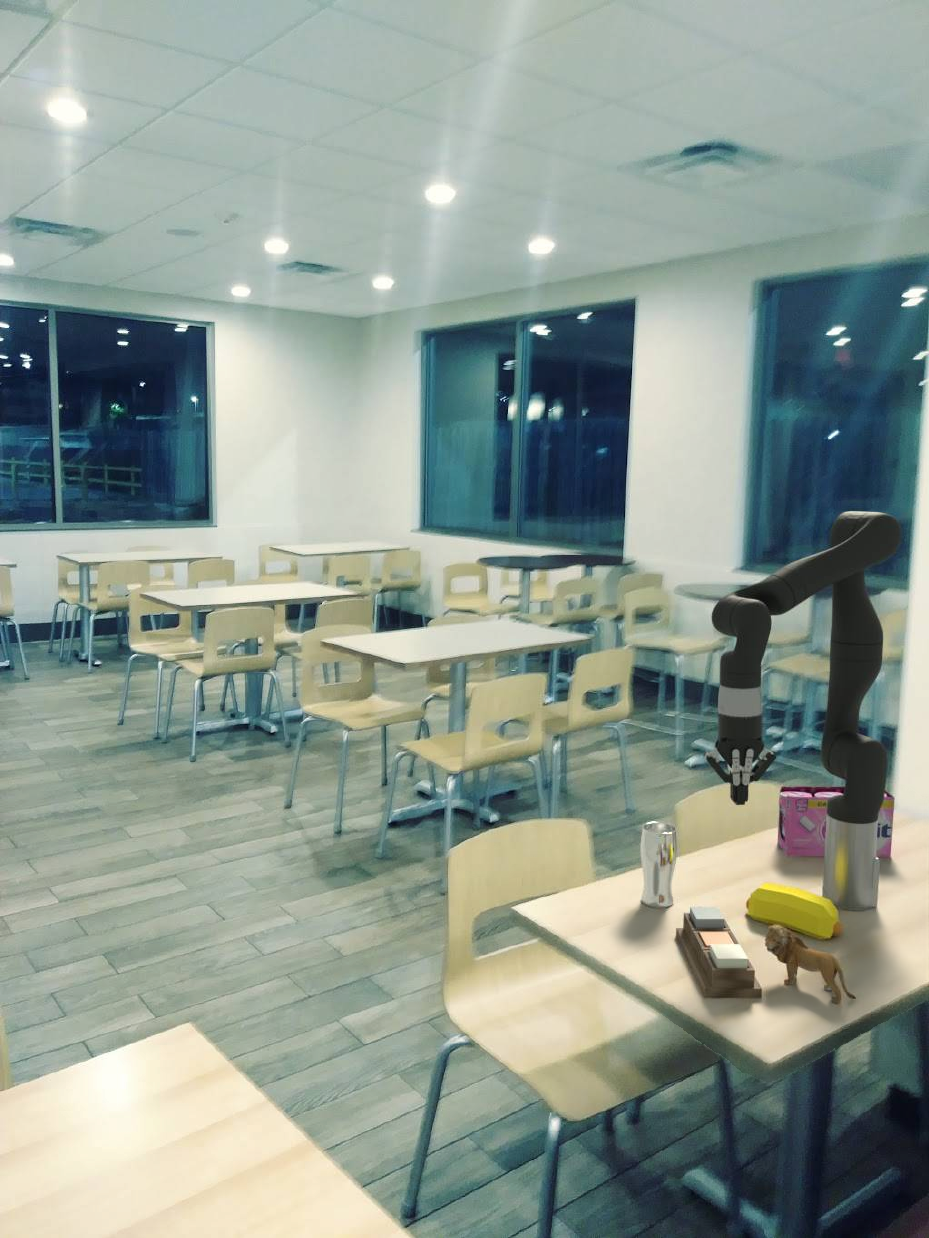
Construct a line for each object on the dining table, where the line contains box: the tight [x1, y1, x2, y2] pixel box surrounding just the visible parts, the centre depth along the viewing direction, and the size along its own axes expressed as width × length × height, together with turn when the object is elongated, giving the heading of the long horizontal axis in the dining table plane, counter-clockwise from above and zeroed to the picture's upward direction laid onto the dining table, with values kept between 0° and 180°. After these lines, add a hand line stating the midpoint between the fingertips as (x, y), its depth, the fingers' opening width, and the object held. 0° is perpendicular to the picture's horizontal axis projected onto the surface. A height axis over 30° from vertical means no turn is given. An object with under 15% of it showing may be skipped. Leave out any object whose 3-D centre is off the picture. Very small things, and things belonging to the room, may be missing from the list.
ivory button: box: [710, 943, 749, 968], centre depth 156 cm, size 5×5×3 cm
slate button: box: [689, 906, 725, 928], centre depth 170 cm, size 5×5×3 cm
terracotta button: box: [699, 932, 734, 947], centre depth 163 cm, size 5×5×3 cm
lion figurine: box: [764, 924, 857, 1004], centre depth 156 cm, size 15×5×9 cm, turn 53°
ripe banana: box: [745, 881, 843, 941], centre depth 178 cm, size 18×7×8 cm
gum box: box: [777, 785, 895, 858], centre depth 214 cm, size 24×8×14 cm, turn 90°
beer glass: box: [640, 821, 678, 909], centre depth 187 cm, size 7×7×15 cm
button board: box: [675, 912, 763, 999], centre depth 163 cm, size 9×21×4 cm, turn 0°
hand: (738, 803), depth 174 cm, fingers closed
